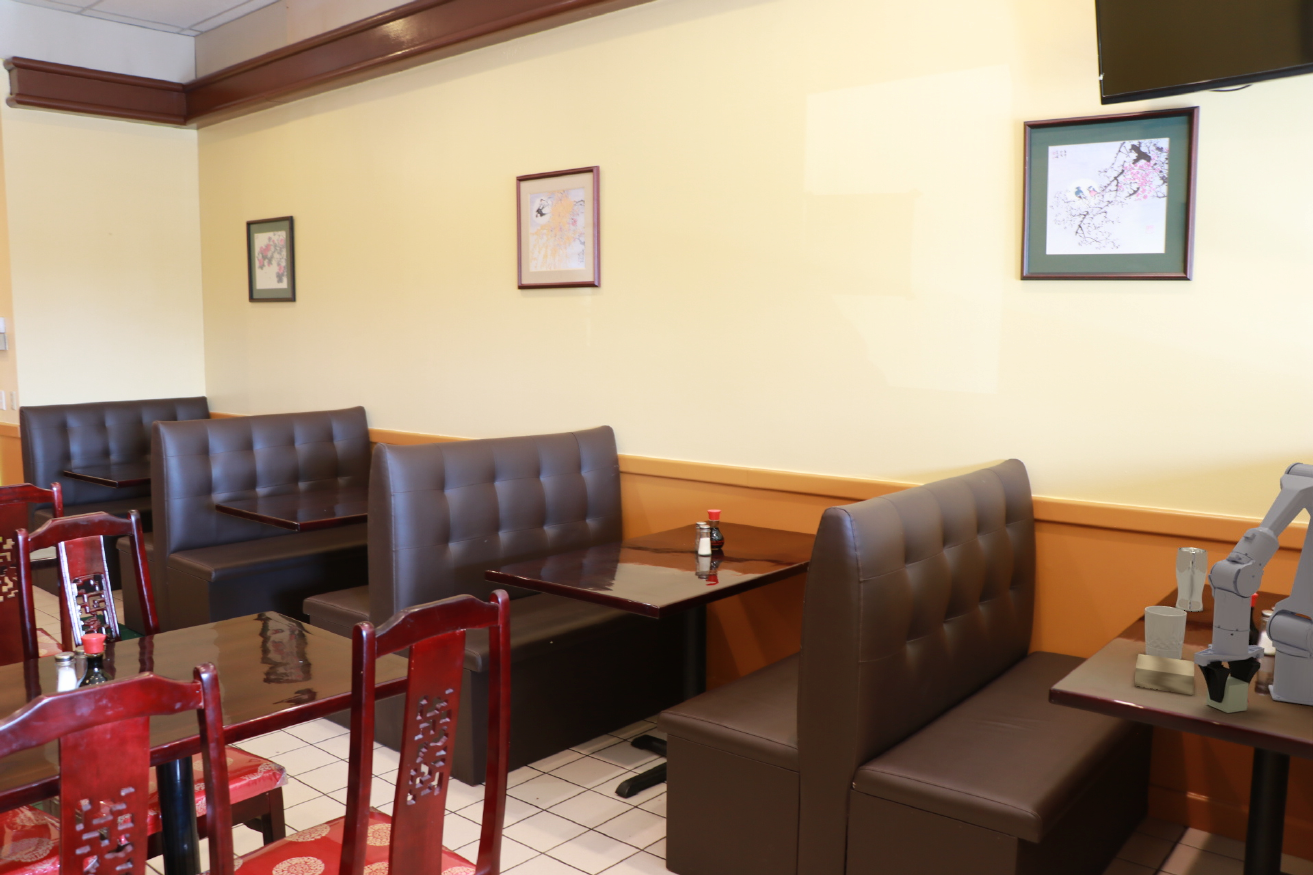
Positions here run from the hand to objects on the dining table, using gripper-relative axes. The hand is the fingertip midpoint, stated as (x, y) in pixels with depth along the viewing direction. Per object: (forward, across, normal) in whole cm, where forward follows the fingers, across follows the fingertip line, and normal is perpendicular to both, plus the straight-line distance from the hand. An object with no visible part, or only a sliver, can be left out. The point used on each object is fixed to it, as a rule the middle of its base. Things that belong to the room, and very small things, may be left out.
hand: (1226, 699), depth 181 cm
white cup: (+2, -13, -27) cm, 30 cm away
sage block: (+1, 0, 0) cm, 1 cm away
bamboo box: (+2, 0, -14) cm, 14 cm away
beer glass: (+2, -50, -55) cm, 74 cm away
